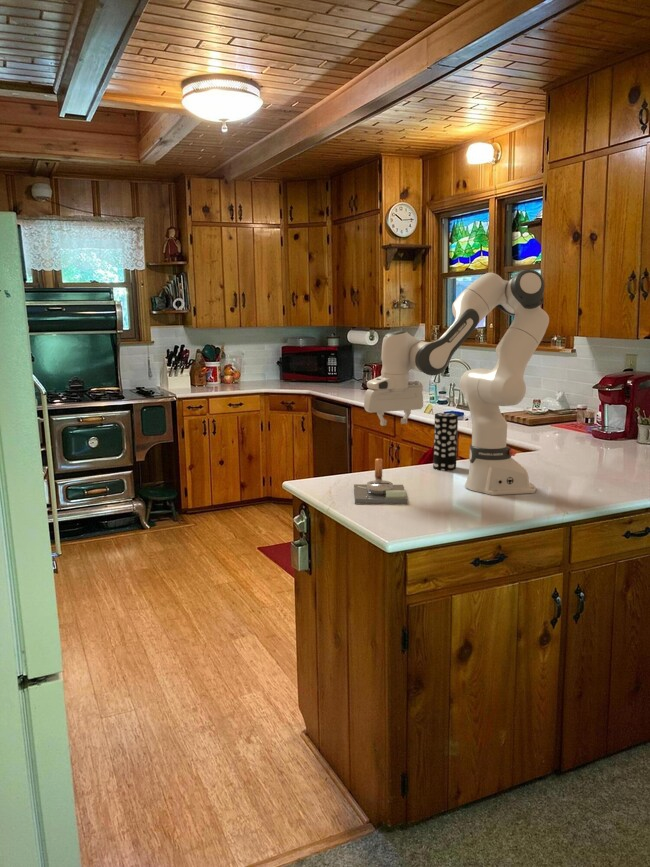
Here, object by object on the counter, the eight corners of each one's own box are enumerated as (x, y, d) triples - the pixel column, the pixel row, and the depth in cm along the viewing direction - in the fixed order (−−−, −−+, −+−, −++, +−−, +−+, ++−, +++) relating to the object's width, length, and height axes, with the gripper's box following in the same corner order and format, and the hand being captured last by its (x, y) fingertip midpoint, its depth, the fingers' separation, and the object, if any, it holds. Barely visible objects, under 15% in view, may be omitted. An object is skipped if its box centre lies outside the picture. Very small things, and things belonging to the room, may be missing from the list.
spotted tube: (431, 469, 255) (433, 415, 251) (435, 464, 263) (437, 412, 259) (454, 471, 252) (456, 417, 249) (457, 466, 260) (459, 413, 256)
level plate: (402, 489, 229) (402, 479, 228) (407, 504, 212) (407, 493, 212) (353, 488, 229) (353, 479, 229) (354, 503, 213) (355, 493, 212)
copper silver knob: (390, 483, 229) (390, 458, 228) (393, 494, 216) (393, 468, 215) (366, 483, 230) (366, 458, 228) (367, 494, 217) (367, 468, 215)
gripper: (417, 379, 231) (416, 420, 234) (362, 382, 223) (361, 425, 226) (427, 381, 225) (426, 423, 228) (371, 384, 217) (370, 428, 220)
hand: (393, 424), depth 227 cm, fingers open, 6 cm apart
